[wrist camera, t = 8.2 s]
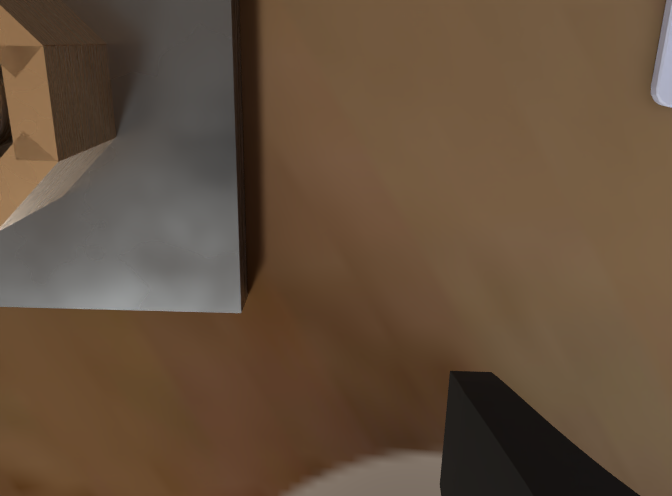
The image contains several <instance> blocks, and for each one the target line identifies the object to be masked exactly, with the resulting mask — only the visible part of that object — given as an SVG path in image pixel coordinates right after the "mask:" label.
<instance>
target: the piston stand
mask: <svg viewBox="0 0 672 496" xmlns="http://www.w3.org/2000/svg"><path fill="white" fill-rule="evenodd" d="M62 1H63V2H64V3H65V4H66V5H67V6H68V7H69V8H70V9H71V10H72V11H73V12H74V13H75V14H76V15H77V16H78V17H79V18H80V19H81V20H82V21H83V22H85V23H86V24H87V25H88V26H89V27H90V28H91V29H92V30H93V31H94V32H95V33H96V34H97V35H98V36H99V37H100V38H101V39H102V40H103V41H104V42H105V43H106V45H107V49H108V59H109V69H110V79H111V89H112V99H113V109H114V119H115V129H116V138H115V139H114V140H113V142H112V143H111V144H110V145H109V146H108V147H107V148H106V149H105V150H104V151H103V153H102V154H101V155H100V156H99V157H98V158H97V159H96V160H95V161H94V162H93V164H92V165H91V166H90V167H89V168H88V169H87V170H86V171H85V172H84V174H83V175H82V176H81V177H80V178H79V179H78V180H77V181H76V182H75V183H74V185H73V186H72V187H71V188H70V189H69V190H68V191H67V192H66V193H65V194H64V196H63V197H61V198H59V199H57V200H55V201H54V202H52V203H50V204H48V205H46V206H44V207H43V208H41V209H39V210H37V211H35V212H33V213H32V214H30V215H28V216H26V217H24V218H23V219H21V220H19V221H17V222H15V223H13V224H12V225H10V226H8V227H6V228H4V229H2V230H1V231H0V307H34V308H71V309H109V310H146V311H184V312H221V313H241V312H242V310H243V307H244V305H245V302H246V299H247V297H248V291H247V256H246V221H245V186H244V151H243V116H242V81H241V46H240V11H239V0H62ZM12 144H13V139H12V132H11V126H10V119H9V113H8V106H7V100H6V93H5V87H4V80H3V74H2V67H1V64H0V158H1V157H2V156H3V154H4V153H5V152H6V151H7V150H8V149H9V147H10V146H11V145H12Z"/></svg>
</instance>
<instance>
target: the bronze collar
mask: <svg viewBox="0 0 672 496" xmlns="http://www.w3.org/2000/svg"><path fill="white" fill-rule="evenodd" d="M0 64H1V67H2V74H3V80H4V87H5V93H6V100H7V106H8V113H9V119H10V126H11V132H12V139H13V144H12V145H11V146H10V147H9V149H8V150H7V151H6V152H5V153H4V154H3V156H2V157H1V158H0V231H1V230H2V229H4V228H6V227H8V226H10V225H12V224H13V223H15V222H17V221H19V220H21V219H23V218H24V217H26V216H28V215H30V214H32V213H33V212H35V211H37V210H39V209H41V208H43V207H44V206H46V205H48V204H50V203H52V202H54V201H55V200H57V199H59V198H61V197H63V196H64V194H65V193H66V192H67V191H68V190H69V189H70V188H71V187H72V186H73V185H74V183H75V182H76V181H77V180H78V179H79V178H80V177H81V176H82V175H83V174H84V172H85V171H86V170H87V169H88V168H89V167H90V166H91V165H92V164H93V162H94V161H95V160H96V159H97V158H98V157H99V156H100V155H101V154H102V153H103V151H104V150H105V149H106V148H107V147H108V146H109V145H110V144H111V143H112V142H113V140H114V139H115V138H116V129H115V119H114V109H113V99H112V89H111V79H110V69H109V59H108V49H107V45H106V43H105V42H104V41H103V40H102V39H101V38H100V37H99V36H98V35H97V34H96V33H95V32H94V31H93V30H92V29H91V28H90V27H89V26H88V25H87V24H86V23H85V22H83V21H82V20H81V19H80V18H79V17H78V16H77V15H76V14H75V13H74V12H73V11H72V10H71V9H70V8H69V7H68V6H67V5H66V4H65V3H64V2H63V1H62V0H0Z"/></svg>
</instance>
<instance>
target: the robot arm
mask: <svg viewBox="0 0 672 496" xmlns="http://www.w3.org/2000/svg"><path fill="white" fill-rule="evenodd" d="M651 95H652V97H653V99H654V101H655V102H657V103H658V104H659V105H663V106H667V107H672V0H666V6H665V11H664V17H663V23H662V28H661V34H660V39H659V45H658V50H657V56H656V62H655V67H654V73H653V78H652V84H651ZM440 488H441V496H640V495H638V494H637V493H636V492H634V491H633V490H632V489H630V488H629V487H628V486H626V485H625V484H624V483H622V482H621V481H620V480H618V479H617V478H616V477H614V476H613V475H612V474H611V473H609V472H608V471H607V470H605V469H604V468H603V467H602V466H600V465H599V464H598V463H597V462H595V461H594V460H593V459H592V458H590V457H589V456H588V455H587V454H585V453H584V452H583V451H582V450H581V449H579V448H578V447H577V446H576V445H575V444H573V443H572V442H571V441H570V440H569V439H567V438H566V437H565V436H564V435H563V434H562V433H560V432H559V431H558V430H557V429H556V428H555V427H553V426H552V425H551V424H550V423H549V422H548V421H547V420H545V419H544V418H543V417H542V416H541V415H540V414H539V413H538V412H536V411H535V410H534V409H533V408H532V407H531V406H530V405H529V404H527V403H526V402H525V401H524V400H523V399H522V398H521V397H520V396H518V395H517V394H516V393H515V392H514V391H513V390H512V389H511V388H510V387H508V386H507V385H506V384H505V383H504V382H503V381H502V380H500V379H499V378H498V377H497V376H496V375H494V374H493V373H492V372H467V371H450V378H449V390H448V401H447V412H446V423H445V434H444V445H443V456H442V467H441V478H440Z"/></svg>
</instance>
